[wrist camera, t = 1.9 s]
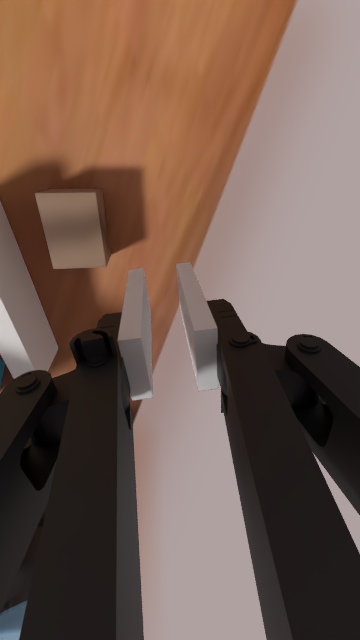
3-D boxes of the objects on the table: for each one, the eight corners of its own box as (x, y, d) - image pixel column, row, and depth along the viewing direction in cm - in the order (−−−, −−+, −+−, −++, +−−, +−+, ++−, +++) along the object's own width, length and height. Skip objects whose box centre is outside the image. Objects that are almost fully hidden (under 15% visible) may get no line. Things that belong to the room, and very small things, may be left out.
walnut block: (111, 254, 36) (106, 267, 32) (64, 255, 36) (53, 269, 31) (102, 188, 32) (95, 192, 28) (49, 188, 32) (34, 193, 27)
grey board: (58, 348, 43) (41, 384, 36) (39, 350, 42) (18, 387, 36) (-2, 196, 31) (-44, 206, 24) (-29, 198, 31) (-78, 210, 24)
